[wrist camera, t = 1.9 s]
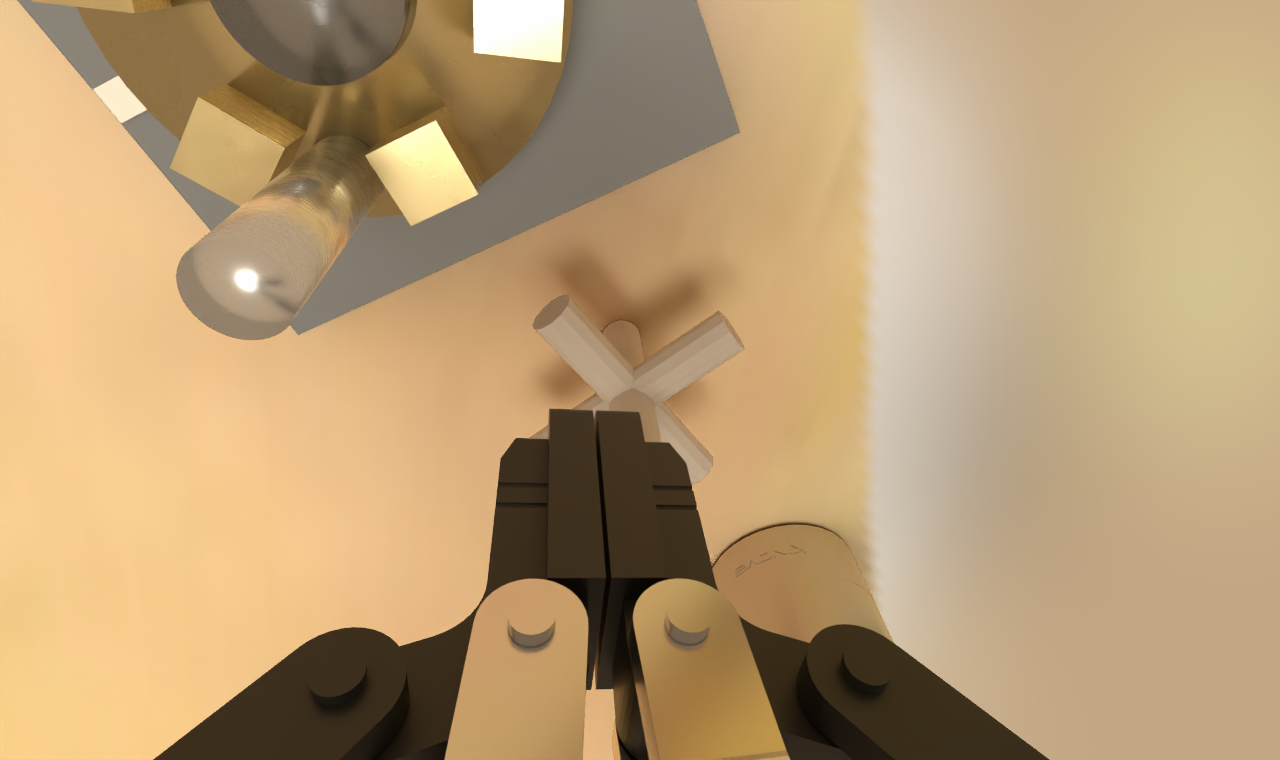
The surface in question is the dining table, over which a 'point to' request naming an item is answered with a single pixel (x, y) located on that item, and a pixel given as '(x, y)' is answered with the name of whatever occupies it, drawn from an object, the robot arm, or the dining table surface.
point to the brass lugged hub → (326, 122)
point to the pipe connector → (639, 371)
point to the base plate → (532, 181)
